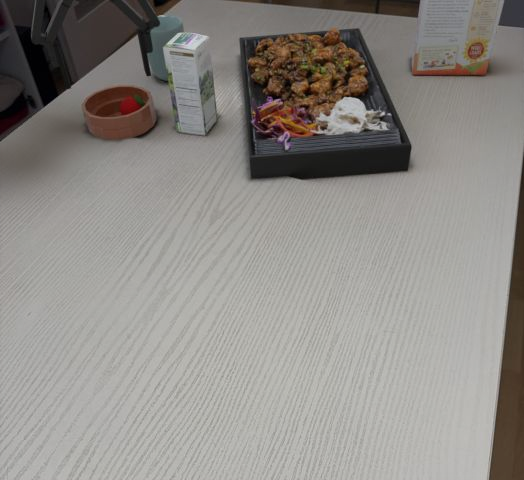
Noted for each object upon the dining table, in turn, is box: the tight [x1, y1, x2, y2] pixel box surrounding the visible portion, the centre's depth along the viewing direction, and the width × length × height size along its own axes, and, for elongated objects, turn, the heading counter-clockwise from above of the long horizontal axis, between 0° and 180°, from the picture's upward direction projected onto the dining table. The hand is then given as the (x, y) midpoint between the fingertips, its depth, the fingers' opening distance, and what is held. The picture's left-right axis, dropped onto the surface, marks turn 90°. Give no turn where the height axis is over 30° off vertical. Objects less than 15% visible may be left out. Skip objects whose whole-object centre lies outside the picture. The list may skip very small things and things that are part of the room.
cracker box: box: [410, 0, 505, 76], centre depth 98 cm, size 14×6×21 cm, turn 82°
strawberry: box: [120, 94, 146, 116], centre depth 97 cm, size 4×4×4 cm
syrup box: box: [163, 32, 218, 136], centre depth 92 cm, size 6×6×14 cm
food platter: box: [239, 27, 413, 180], centre depth 95 cm, size 45×25×10 cm, turn 4°
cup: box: [147, 14, 185, 82], centre depth 107 cm, size 8×8×10 cm
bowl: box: [81, 84, 157, 140], centre depth 97 cm, size 12×12×4 cm
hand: (108, 79), depth 92 cm, fingers open, 13 cm apart
